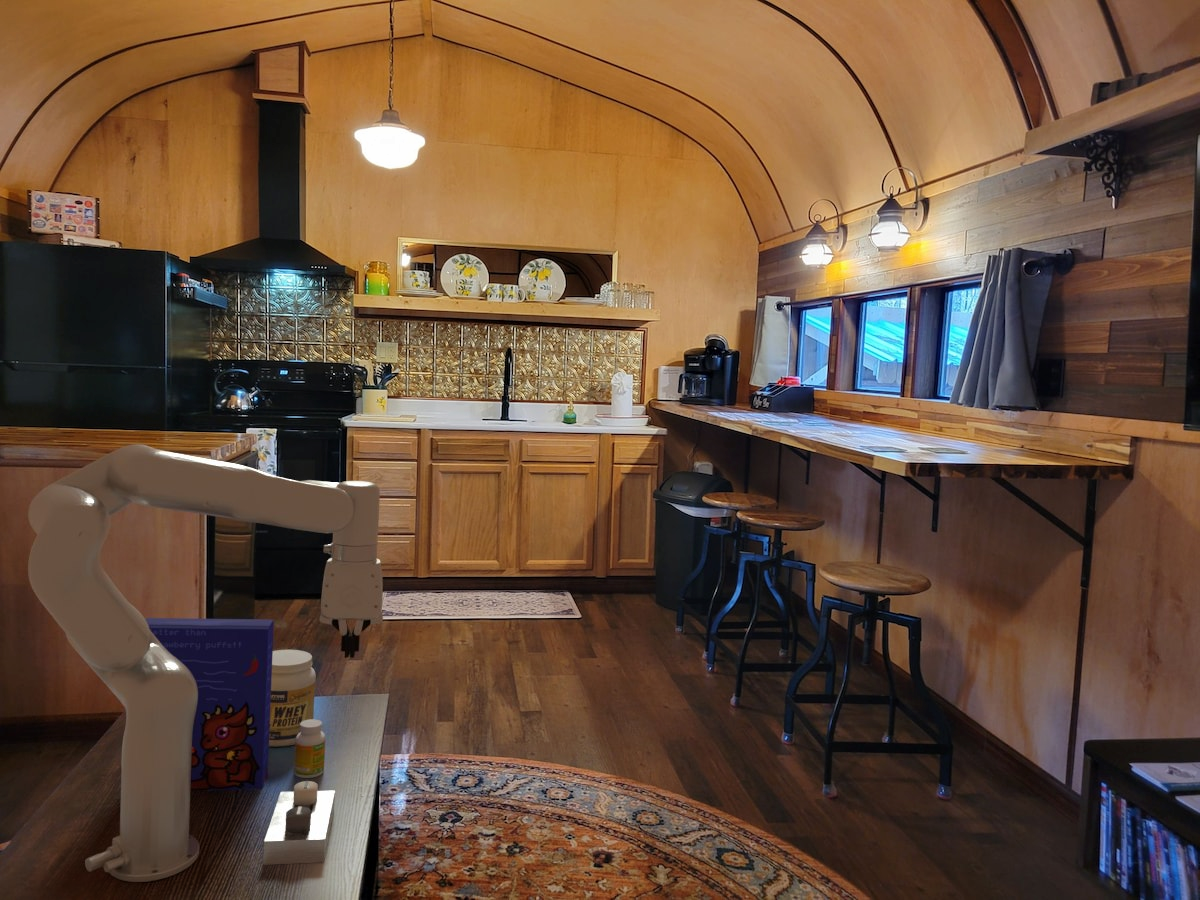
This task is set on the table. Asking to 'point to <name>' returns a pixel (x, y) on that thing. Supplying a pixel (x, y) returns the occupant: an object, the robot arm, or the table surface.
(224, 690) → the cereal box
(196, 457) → the robot arm
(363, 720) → the table surface
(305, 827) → the charcoal knob
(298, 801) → the cream knob
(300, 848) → the mount
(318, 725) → the supplement bottle
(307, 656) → the supplement tub
